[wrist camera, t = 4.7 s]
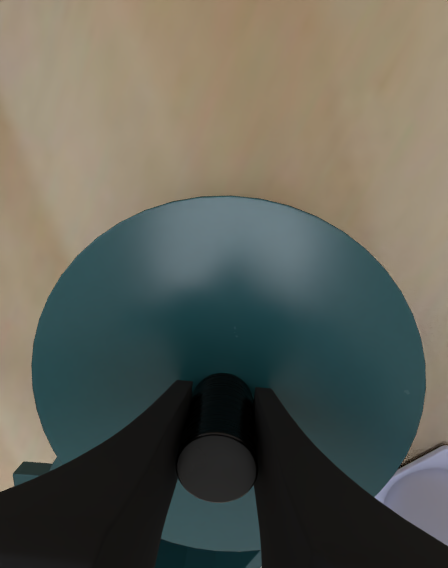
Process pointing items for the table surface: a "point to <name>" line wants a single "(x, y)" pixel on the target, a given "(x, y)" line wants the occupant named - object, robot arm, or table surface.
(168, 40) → the table surface
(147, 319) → the pot lid
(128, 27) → the table surface
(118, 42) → the table surface
